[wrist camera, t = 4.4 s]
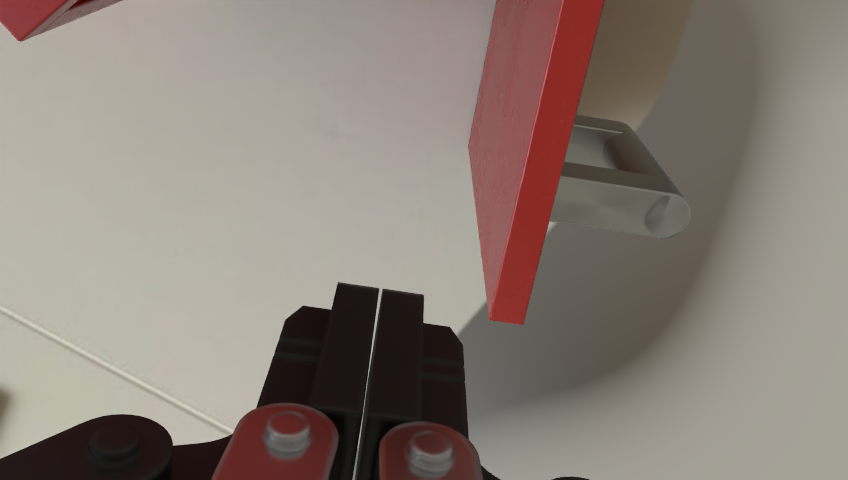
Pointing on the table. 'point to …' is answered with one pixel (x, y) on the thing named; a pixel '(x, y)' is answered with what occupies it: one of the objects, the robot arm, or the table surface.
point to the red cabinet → (44, 14)
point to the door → (552, 150)
